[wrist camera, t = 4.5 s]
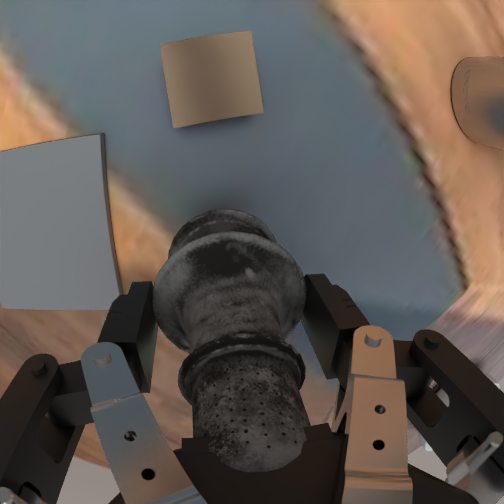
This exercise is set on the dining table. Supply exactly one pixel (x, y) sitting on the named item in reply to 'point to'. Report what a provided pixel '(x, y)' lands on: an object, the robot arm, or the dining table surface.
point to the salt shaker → (236, 337)
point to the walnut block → (211, 78)
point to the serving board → (57, 227)
